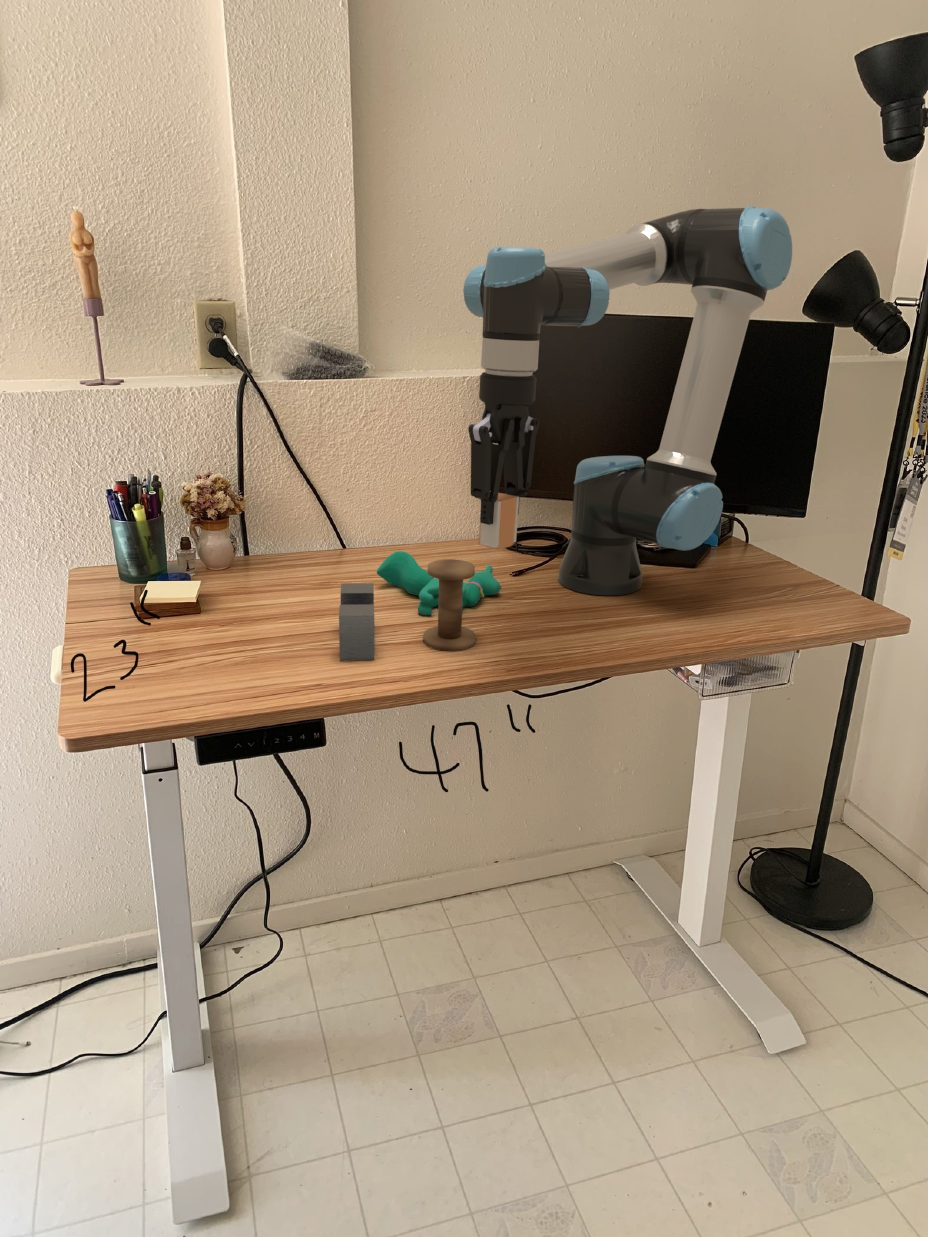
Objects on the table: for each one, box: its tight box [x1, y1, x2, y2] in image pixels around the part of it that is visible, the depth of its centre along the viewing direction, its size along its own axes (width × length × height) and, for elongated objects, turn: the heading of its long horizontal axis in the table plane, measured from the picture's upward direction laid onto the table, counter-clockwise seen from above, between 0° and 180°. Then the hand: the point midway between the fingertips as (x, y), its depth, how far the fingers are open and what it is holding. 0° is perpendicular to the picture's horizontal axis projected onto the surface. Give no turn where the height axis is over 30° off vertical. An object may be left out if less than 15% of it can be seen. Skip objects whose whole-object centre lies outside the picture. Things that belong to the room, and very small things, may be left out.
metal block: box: [338, 582, 376, 662], centre depth 139 cm, size 5×14×7 cm, turn 6°
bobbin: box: [422, 558, 477, 652], centre depth 140 cm, size 8×8×12 cm
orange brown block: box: [478, 492, 517, 551], centre depth 130 cm, size 4×4×7 cm
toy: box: [376, 550, 502, 616], centre depth 160 cm, size 7×22×20 cm
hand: (498, 542), depth 131 cm, fingers closed on orange brown block, 3 cm apart
